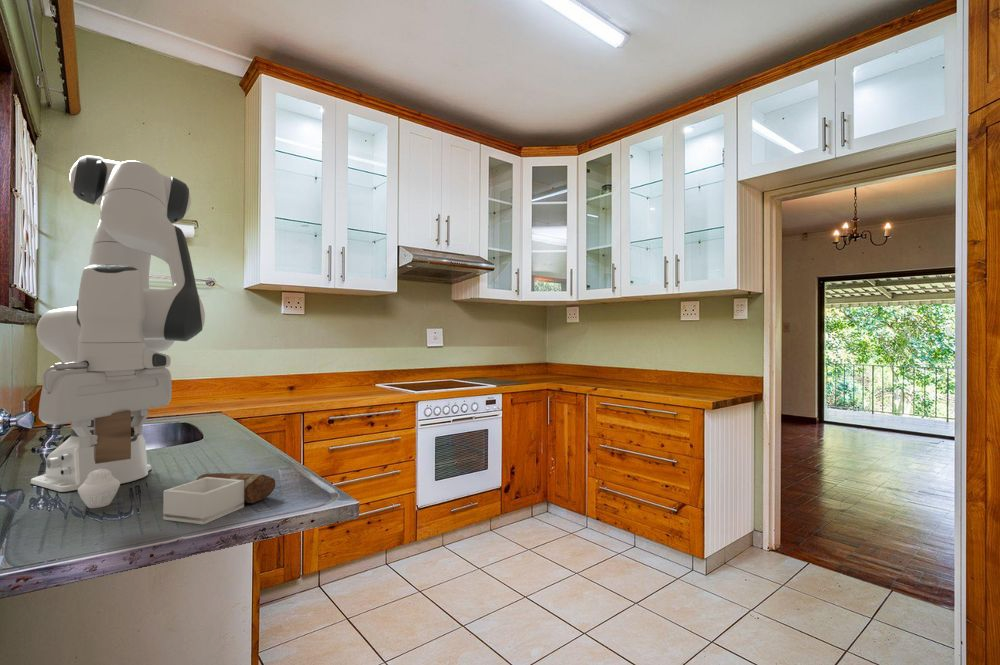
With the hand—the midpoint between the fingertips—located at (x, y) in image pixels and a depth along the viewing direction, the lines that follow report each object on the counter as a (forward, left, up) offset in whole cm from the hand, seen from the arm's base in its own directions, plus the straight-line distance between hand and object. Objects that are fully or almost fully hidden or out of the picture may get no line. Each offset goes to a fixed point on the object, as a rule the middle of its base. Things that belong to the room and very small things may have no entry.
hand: (112, 441), depth 81 cm
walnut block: (0, 0, -3) cm, 3 cm away
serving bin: (+10, +9, -14) cm, 20 cm away
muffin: (-13, +7, -14) cm, 20 cm away
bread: (+7, +17, -15) cm, 24 cm away
